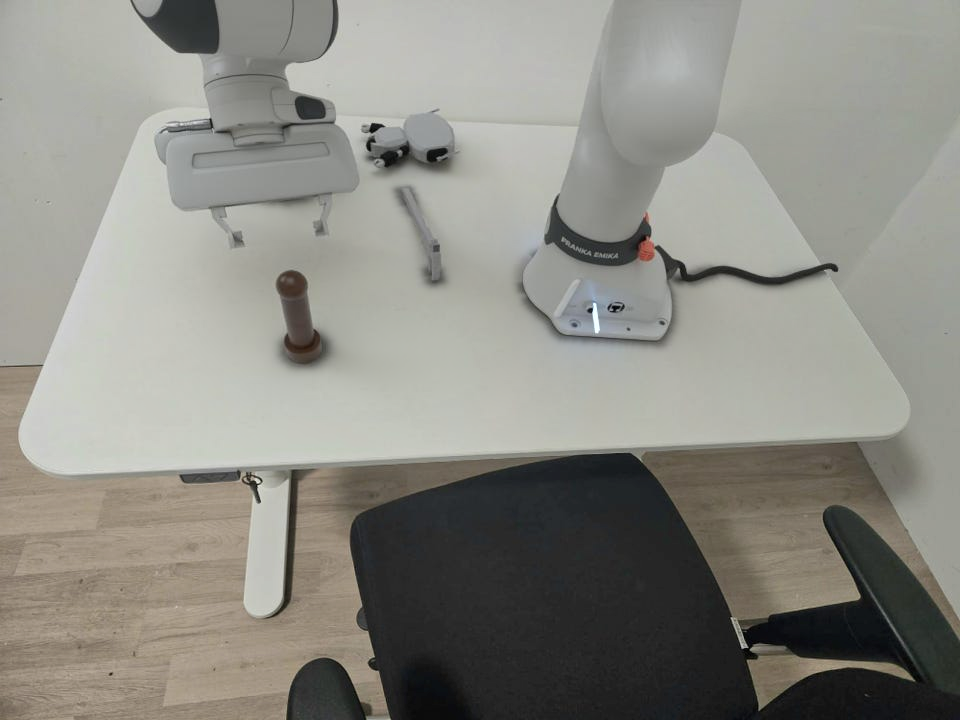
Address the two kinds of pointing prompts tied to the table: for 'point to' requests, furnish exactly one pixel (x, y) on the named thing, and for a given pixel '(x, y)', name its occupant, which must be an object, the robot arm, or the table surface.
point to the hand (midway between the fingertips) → (281, 241)
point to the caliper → (424, 235)
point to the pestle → (298, 318)
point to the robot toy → (411, 139)
